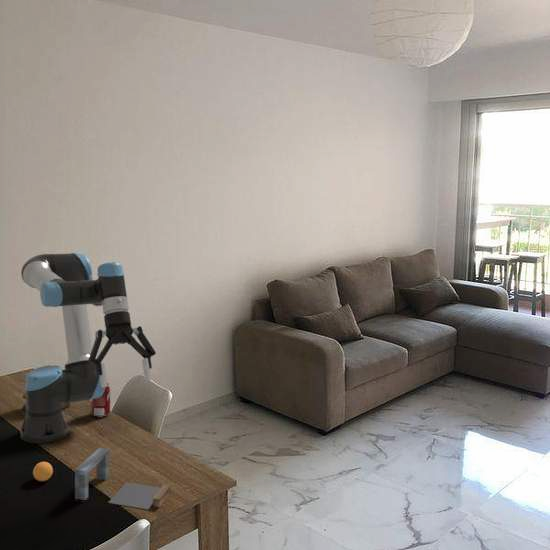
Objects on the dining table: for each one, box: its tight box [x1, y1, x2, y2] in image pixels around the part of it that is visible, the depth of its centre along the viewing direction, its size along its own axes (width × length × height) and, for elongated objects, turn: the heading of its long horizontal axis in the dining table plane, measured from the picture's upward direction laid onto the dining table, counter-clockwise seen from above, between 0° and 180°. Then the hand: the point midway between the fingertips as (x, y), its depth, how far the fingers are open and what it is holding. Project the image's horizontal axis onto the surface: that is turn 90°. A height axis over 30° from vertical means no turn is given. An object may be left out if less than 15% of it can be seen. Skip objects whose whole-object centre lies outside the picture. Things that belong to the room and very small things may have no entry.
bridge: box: [74, 447, 110, 501], centre depth 180 cm, size 3×14×9 cm, turn 168°
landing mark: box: [107, 481, 162, 511], centre depth 178 cm, size 12×12×1 cm
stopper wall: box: [152, 484, 171, 508], centre depth 177 cm, size 2×8×2 cm, turn 168°
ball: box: [32, 461, 54, 482], centre depth 184 cm, size 6×6×6 cm
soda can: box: [91, 382, 111, 418], centre depth 233 cm, size 7×7×12 cm
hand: (126, 383), depth 181 cm, fingers open, 13 cm apart
